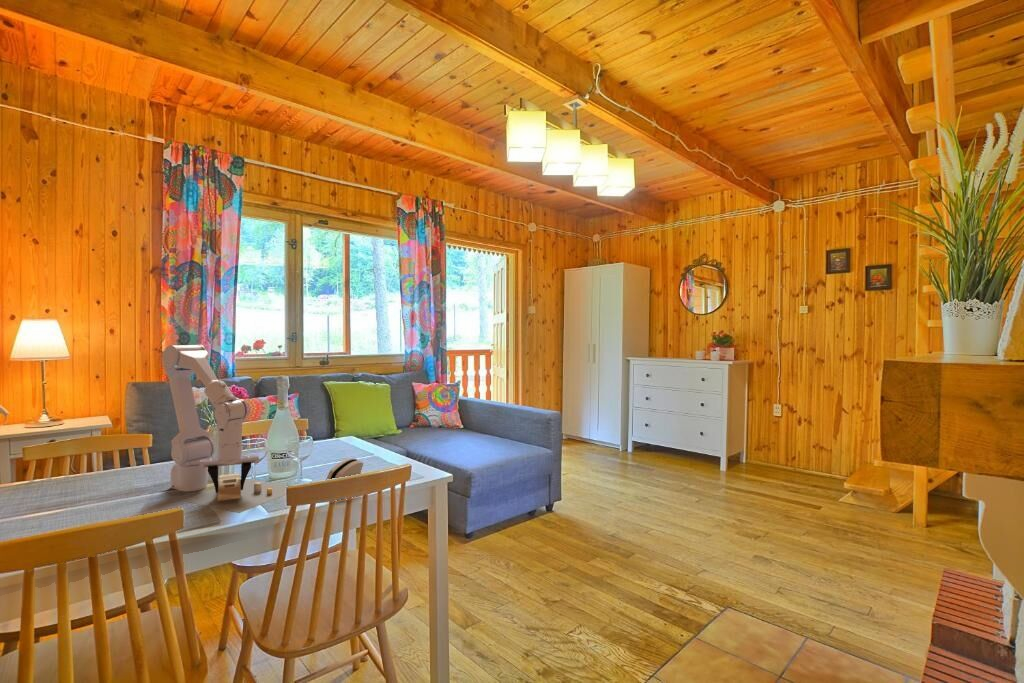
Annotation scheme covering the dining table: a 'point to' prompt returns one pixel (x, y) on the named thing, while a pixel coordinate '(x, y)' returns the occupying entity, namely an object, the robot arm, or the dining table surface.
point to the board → (250, 496)
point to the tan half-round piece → (346, 468)
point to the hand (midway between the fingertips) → (229, 490)
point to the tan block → (229, 487)
